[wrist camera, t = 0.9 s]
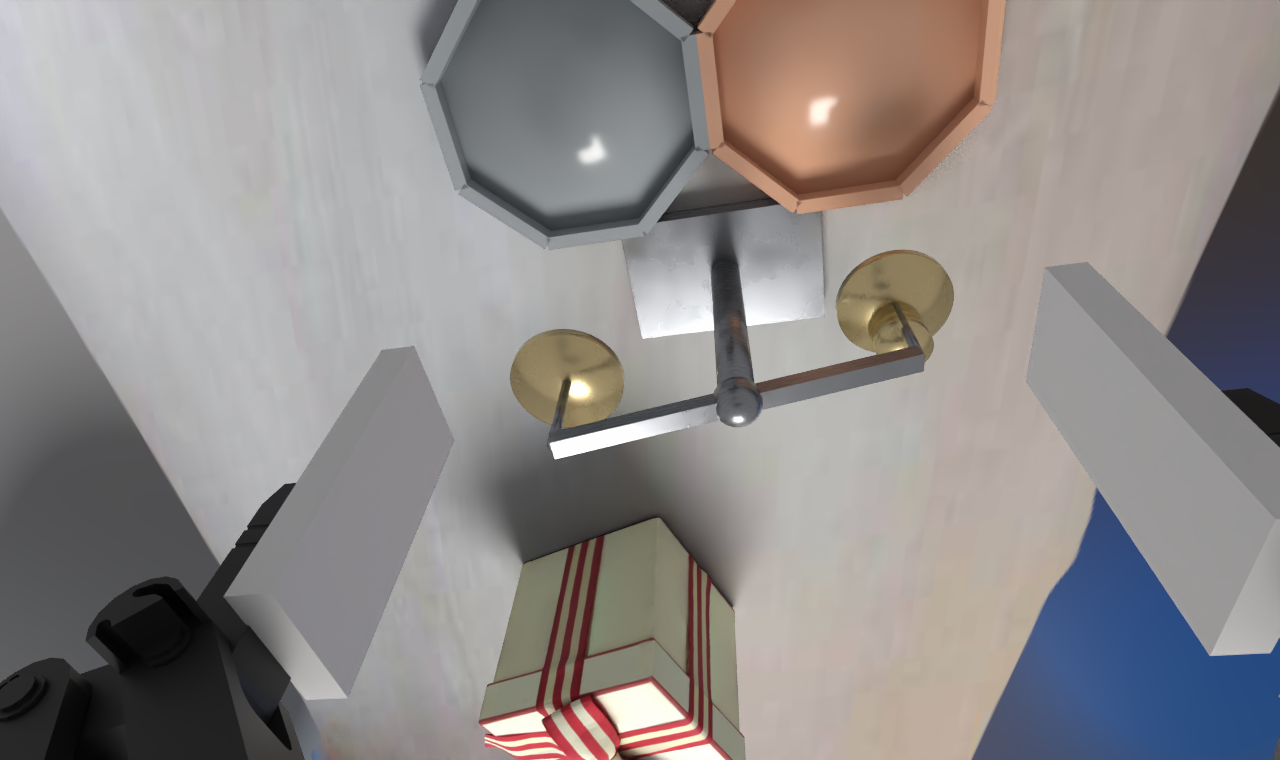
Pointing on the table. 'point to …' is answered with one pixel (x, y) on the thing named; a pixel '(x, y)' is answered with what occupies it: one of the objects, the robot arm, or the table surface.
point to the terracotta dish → (845, 92)
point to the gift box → (617, 656)
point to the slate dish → (568, 113)
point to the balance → (732, 323)
